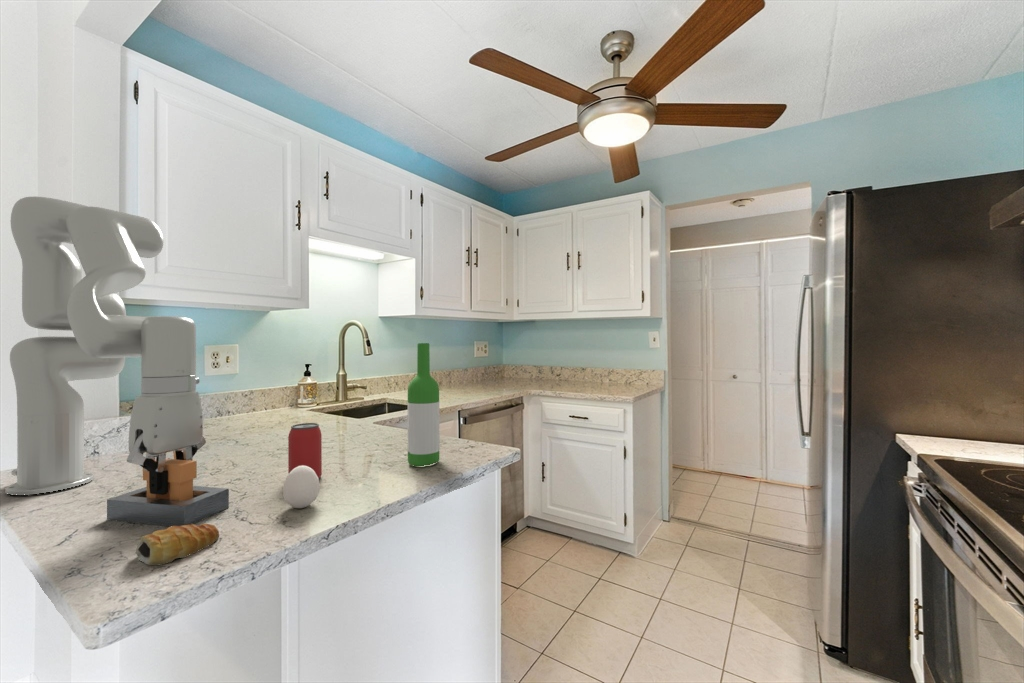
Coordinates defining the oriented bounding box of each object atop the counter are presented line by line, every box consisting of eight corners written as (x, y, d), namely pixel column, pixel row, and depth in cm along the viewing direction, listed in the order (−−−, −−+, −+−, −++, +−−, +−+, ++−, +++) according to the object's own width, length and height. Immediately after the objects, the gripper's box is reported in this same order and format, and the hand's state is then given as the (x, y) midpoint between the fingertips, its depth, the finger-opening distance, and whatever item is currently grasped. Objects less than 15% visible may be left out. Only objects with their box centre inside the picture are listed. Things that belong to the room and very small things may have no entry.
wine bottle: (433, 458, 110) (433, 343, 110) (444, 465, 103) (443, 343, 103) (403, 462, 106) (403, 343, 106) (412, 470, 99) (412, 343, 99)
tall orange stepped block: (142, 505, 74) (142, 463, 74) (160, 499, 77) (160, 458, 77) (180, 509, 72) (180, 465, 72) (196, 502, 75) (196, 460, 75)
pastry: (206, 533, 67) (206, 509, 67) (228, 543, 64) (228, 518, 64) (130, 559, 59) (130, 532, 59) (152, 573, 56) (152, 544, 56)
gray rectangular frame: (106, 519, 72) (106, 499, 72) (157, 501, 80) (157, 483, 80) (184, 527, 69) (184, 506, 69) (228, 507, 77) (228, 488, 77)
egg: (324, 507, 77) (324, 466, 77) (287, 517, 73) (287, 473, 73) (314, 498, 82) (313, 459, 82) (279, 506, 78) (278, 465, 78)
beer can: (308, 485, 89) (308, 428, 89) (281, 483, 90) (281, 427, 90) (327, 475, 96) (327, 422, 96) (302, 474, 97) (302, 421, 97)
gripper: (195, 381, 83) (195, 474, 83) (99, 391, 67) (99, 506, 67) (227, 382, 82) (227, 476, 82) (137, 392, 66) (137, 509, 66)
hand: (169, 488), depth 75 cm, fingers closed on tall orange stepped block, 3 cm apart
